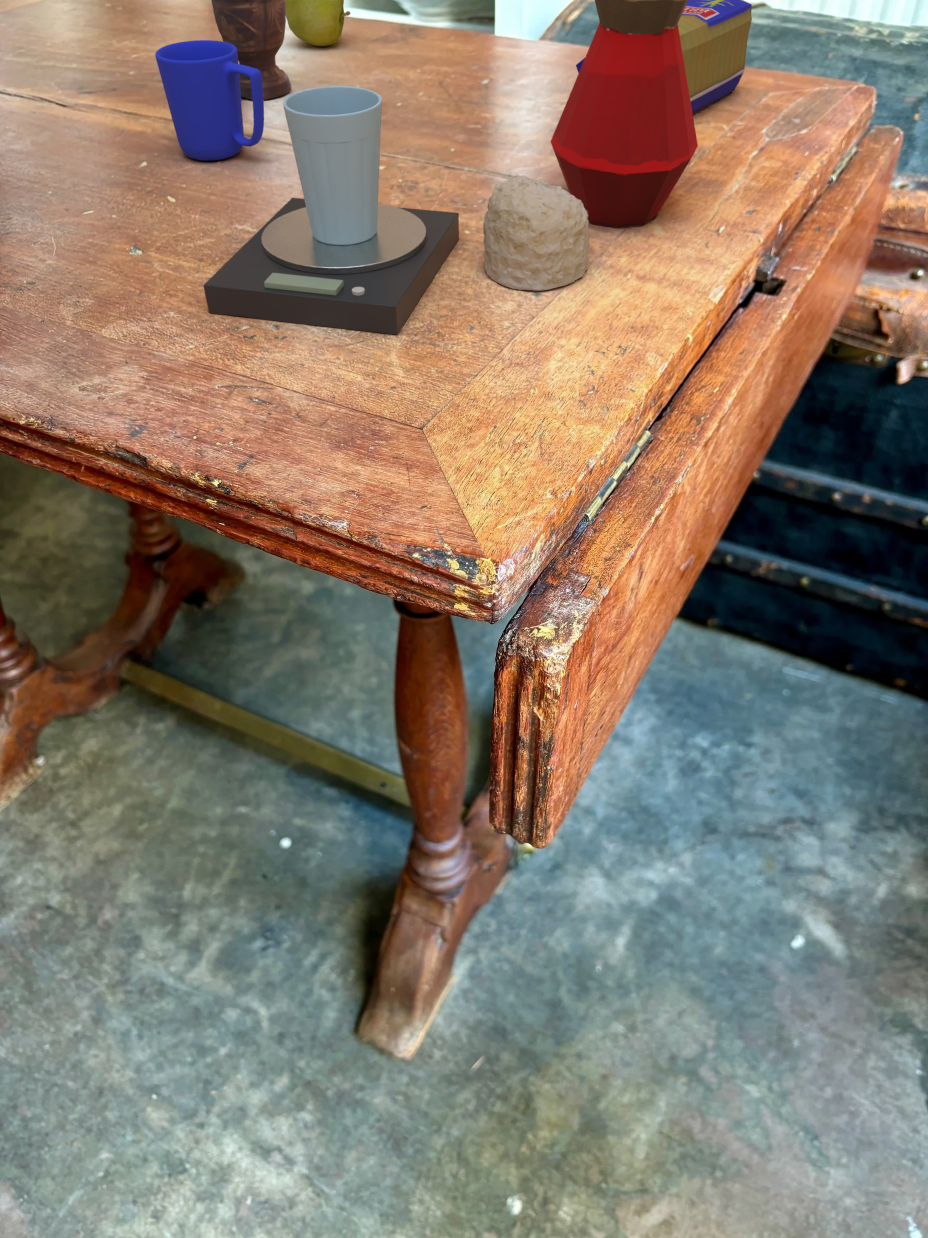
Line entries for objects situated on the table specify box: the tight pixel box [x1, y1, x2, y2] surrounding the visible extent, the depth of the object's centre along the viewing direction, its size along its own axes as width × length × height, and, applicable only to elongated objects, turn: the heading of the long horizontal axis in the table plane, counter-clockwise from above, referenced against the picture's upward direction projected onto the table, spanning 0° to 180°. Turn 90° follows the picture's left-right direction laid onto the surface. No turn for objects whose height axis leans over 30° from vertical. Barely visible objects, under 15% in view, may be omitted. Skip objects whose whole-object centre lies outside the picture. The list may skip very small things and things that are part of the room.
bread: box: [575, 0, 753, 115], centre depth 114 cm, size 10×25×10 cm, turn 143°
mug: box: [154, 39, 265, 162], centre depth 104 cm, size 8×12×10 cm
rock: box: [482, 174, 591, 292], centre depth 84 cm, size 9×10×10 cm
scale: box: [203, 197, 460, 336], centre depth 85 cm, size 16×19×3 cm
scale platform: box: [261, 202, 427, 274], centre depth 85 cm, size 14×14×1 cm
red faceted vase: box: [550, 0, 699, 229], centre depth 89 cm, size 16×14×20 cm
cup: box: [282, 85, 383, 245], centre depth 81 cm, size 8×8×10 cm
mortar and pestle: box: [211, 0, 292, 100], centre depth 116 cm, size 12×9×20 cm
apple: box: [285, 0, 351, 47], centre depth 137 cm, size 8×9×8 cm
